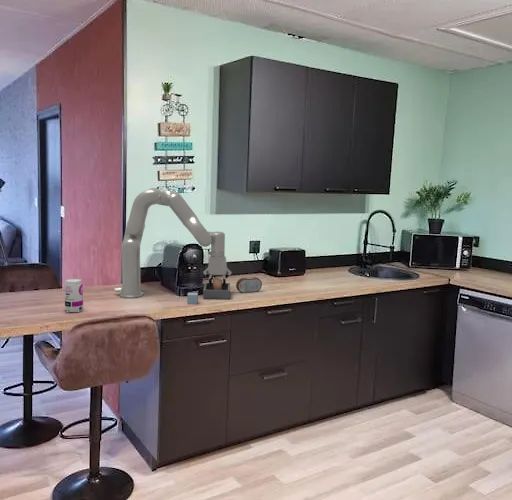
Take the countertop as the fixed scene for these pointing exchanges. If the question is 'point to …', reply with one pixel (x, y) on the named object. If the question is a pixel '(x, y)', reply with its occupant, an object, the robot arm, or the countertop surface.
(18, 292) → the countertop surface
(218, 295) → the tote
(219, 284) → the cylinder
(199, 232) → the robot arm
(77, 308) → the supplement can
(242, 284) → the tin
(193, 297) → the cube
